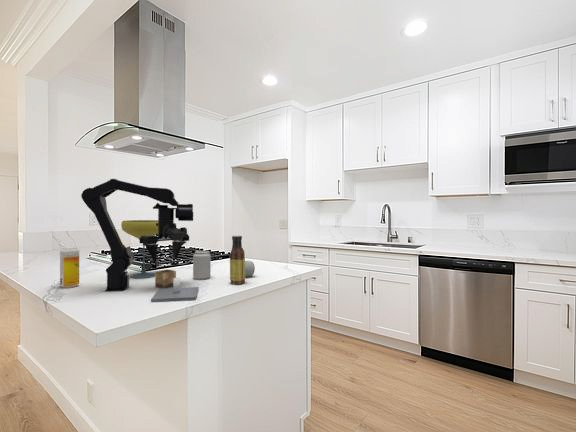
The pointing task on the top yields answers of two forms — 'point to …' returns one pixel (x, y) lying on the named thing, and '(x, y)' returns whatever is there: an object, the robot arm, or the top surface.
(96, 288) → the top surface
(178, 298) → the pin board
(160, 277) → the oak sleeve
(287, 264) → the top surface
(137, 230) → the cocktail glass
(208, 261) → the can
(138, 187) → the robot arm
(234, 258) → the sauce bottle
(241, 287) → the top surface
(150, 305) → the top surface
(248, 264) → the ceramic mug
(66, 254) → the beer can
